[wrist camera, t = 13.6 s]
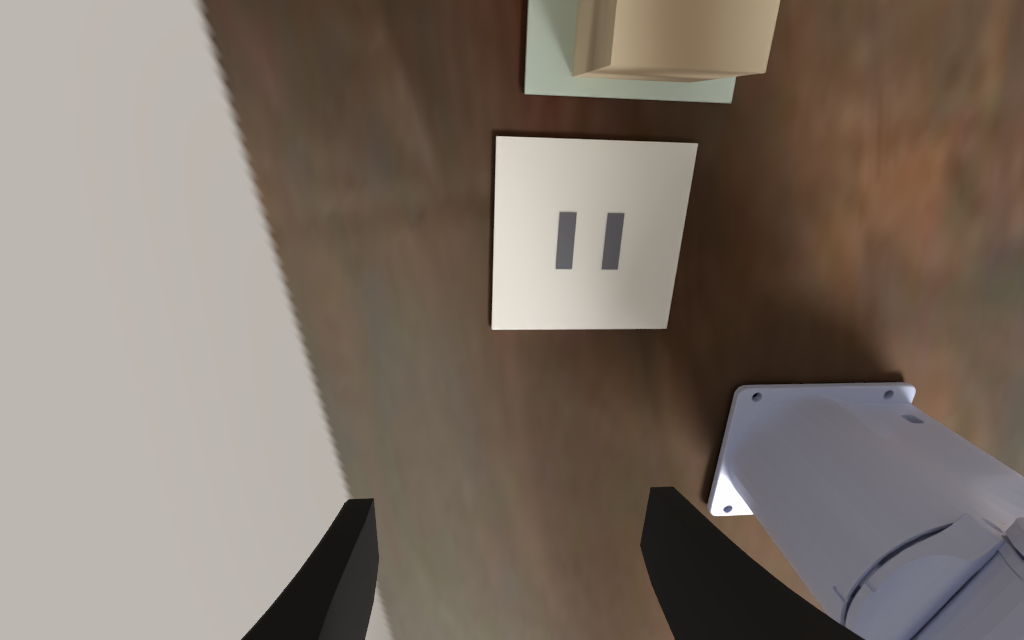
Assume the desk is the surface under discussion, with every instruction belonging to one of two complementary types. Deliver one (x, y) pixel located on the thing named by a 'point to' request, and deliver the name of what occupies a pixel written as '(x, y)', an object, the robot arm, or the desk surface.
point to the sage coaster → (554, 70)
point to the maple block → (673, 39)
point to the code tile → (587, 232)
